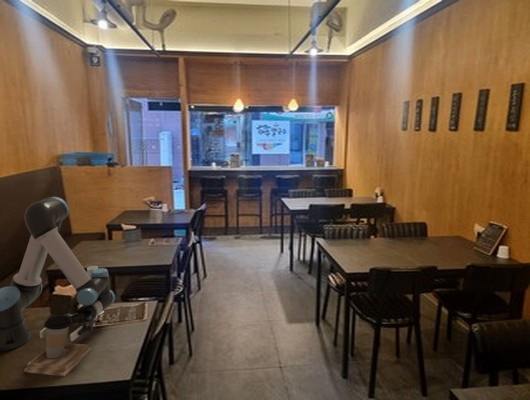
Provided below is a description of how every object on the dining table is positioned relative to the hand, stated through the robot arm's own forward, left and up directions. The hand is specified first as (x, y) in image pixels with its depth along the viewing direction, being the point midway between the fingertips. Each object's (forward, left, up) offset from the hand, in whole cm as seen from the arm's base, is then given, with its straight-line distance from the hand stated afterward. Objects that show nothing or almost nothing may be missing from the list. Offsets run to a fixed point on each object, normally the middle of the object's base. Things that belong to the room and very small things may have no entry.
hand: (55, 336), depth 149 cm
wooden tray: (0, +1, -11) cm, 11 cm away
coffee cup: (-3, +2, -10) cm, 10 cm away
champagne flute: (-9, +40, -11) cm, 42 cm away
